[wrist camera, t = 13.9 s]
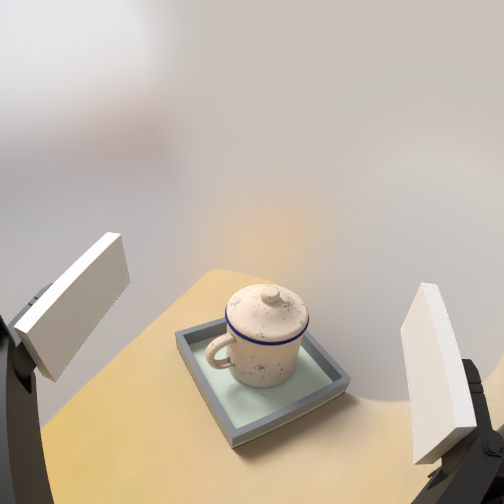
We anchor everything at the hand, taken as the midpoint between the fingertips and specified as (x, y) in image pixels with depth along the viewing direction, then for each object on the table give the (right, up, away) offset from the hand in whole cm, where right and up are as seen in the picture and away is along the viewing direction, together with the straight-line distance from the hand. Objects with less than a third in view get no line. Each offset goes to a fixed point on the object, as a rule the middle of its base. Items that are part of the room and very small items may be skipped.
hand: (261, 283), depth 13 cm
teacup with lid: (-1, -13, +25) cm, 28 cm away
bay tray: (0, -14, +25) cm, 29 cm away
